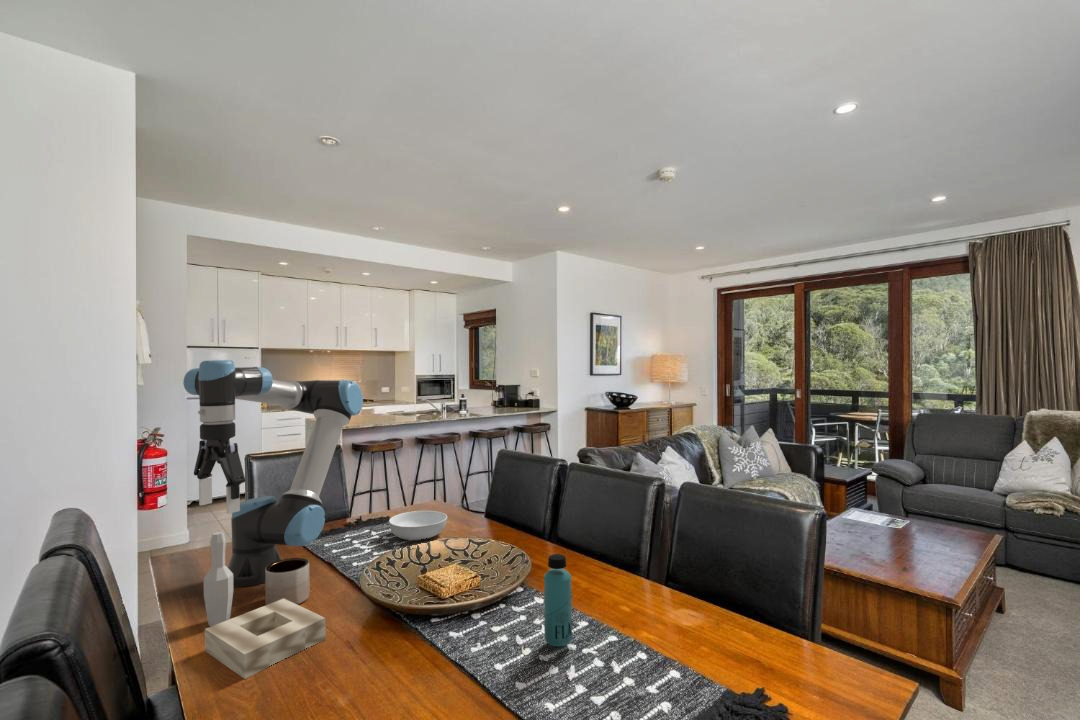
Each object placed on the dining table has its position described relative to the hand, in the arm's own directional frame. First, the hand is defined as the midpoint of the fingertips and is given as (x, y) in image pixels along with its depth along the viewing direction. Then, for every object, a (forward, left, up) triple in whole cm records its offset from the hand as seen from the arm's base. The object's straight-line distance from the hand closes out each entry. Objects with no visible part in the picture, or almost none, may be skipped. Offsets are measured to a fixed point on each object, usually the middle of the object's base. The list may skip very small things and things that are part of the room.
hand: (219, 508), depth 129 cm
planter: (-16, +2, -29) cm, 33 cm away
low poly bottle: (0, -1, -29) cm, 29 cm away
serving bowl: (-71, -8, -29) cm, 77 cm away
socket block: (-1, +20, -28) cm, 35 cm away
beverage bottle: (-38, +75, -29) cm, 89 cm away
